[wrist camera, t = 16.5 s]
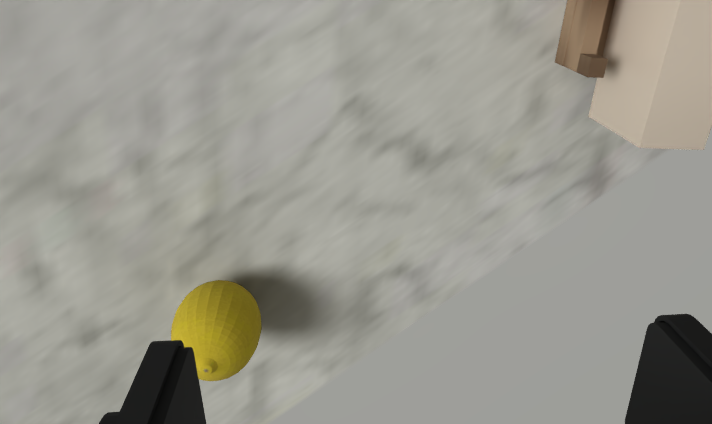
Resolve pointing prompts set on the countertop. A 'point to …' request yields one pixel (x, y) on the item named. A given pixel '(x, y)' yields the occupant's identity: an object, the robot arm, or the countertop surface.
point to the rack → (585, 36)
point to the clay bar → (657, 74)
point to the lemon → (218, 328)
